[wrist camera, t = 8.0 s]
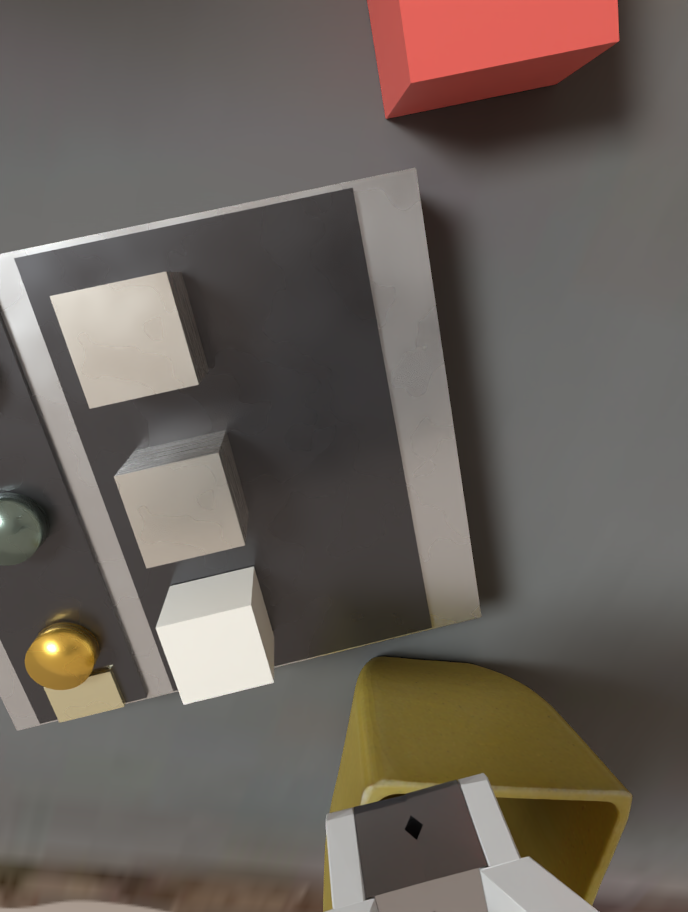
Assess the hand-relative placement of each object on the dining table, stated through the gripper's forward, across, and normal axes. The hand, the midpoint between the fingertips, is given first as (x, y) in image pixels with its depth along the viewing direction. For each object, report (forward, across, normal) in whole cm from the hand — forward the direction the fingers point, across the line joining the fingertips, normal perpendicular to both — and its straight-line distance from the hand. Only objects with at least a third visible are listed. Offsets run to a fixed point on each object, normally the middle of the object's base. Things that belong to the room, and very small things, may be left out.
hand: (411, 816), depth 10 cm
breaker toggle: (+10, +5, +1) cm, 12 cm away
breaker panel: (+14, +4, -4) cm, 15 cm away
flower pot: (+14, -1, +10) cm, 17 cm away
